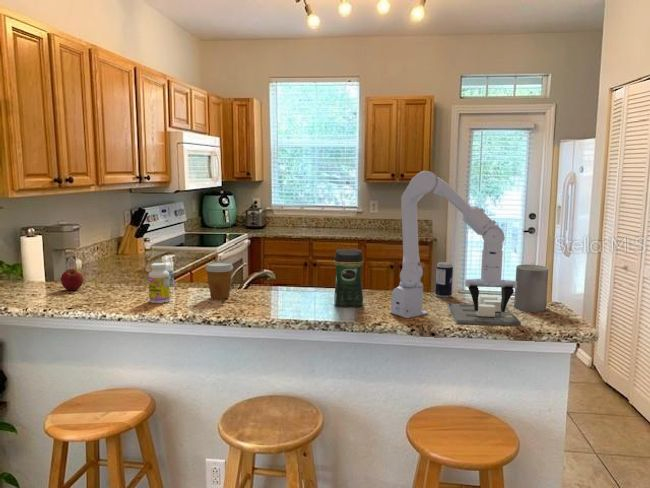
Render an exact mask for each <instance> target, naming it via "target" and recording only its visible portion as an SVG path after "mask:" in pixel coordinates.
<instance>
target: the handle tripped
mask: <svg viewBox="0 0 650 488" xmlns="http://www.w3.org/2000/svg"><path fill="white" fill-rule="evenodd" d="M476 314H477V316H488V317H495V306H494V305H483V304H480V303H478V311H476Z"/></svg>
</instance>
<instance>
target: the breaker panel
mask: <svg viewBox="0 0 650 488" xmlns="http://www.w3.org/2000/svg"><path fill="white" fill-rule="evenodd" d="M448 307H449V308H448ZM447 308H448V310H449V309H450V310H449V311H451V312H450V313H452V314H451V315H453V316H452V317H453V320H454V321H455V324H469V325H487V326H488V325H492V326H514V327H515V326H517V327H521V325H522V322H521V321H520V320H519V318H518V317H517V316H516V315H514V314H513V313H512V312H511V311H510V310H509V309H508V307H506V309H505V312H495V317H488V316H477V314H476V311H475V310H474V304H468V303H447Z"/></svg>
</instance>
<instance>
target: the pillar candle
mask: <svg viewBox="0 0 650 488" xmlns="http://www.w3.org/2000/svg"><path fill="white" fill-rule="evenodd" d="M548 279H549V267H547V266H543V265H539V264H534V263H533V262H532V263H531V264H519V265H516V268H515V281H516V282H517V288H514V304H513V305H514V306H513V307H514V309H516V310H518V309H519V311H522V310H523V312H528V311H529V313H538V312H540V313H541V312H545V311H546V310H547V309H546V308H547V300H548V298H547V297H548V282H549V280H548Z"/></svg>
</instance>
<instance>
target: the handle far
mask: <svg viewBox="0 0 650 488" xmlns="http://www.w3.org/2000/svg"><path fill="white" fill-rule="evenodd" d="M484 300H498V296H497V295H483V294H482V295H480V294H479V304H484Z"/></svg>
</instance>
